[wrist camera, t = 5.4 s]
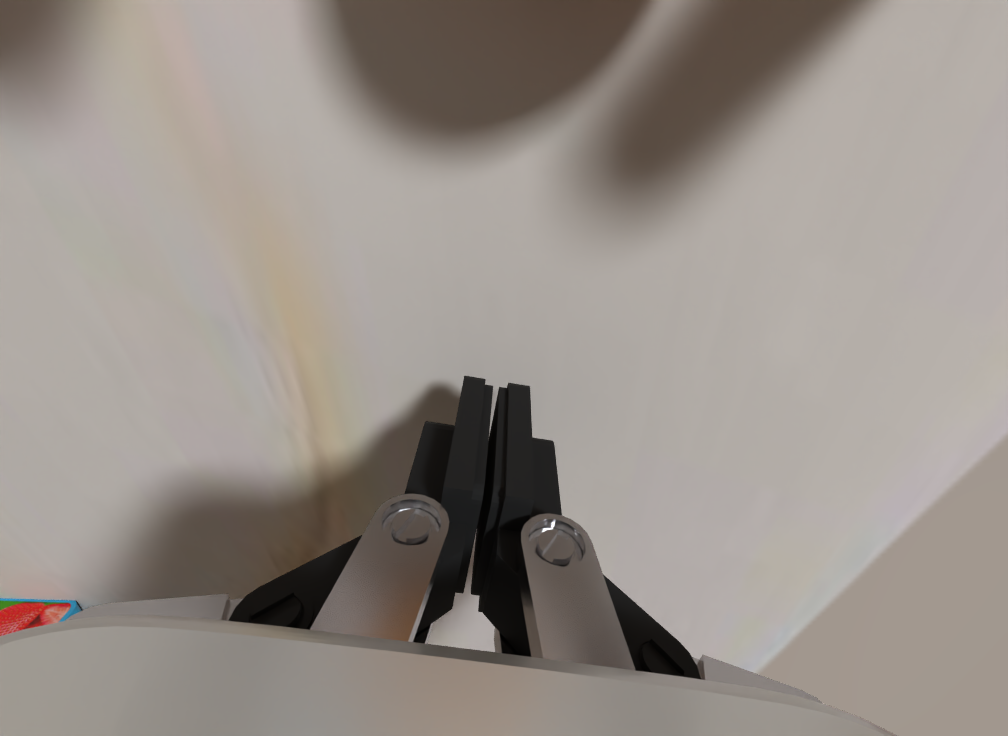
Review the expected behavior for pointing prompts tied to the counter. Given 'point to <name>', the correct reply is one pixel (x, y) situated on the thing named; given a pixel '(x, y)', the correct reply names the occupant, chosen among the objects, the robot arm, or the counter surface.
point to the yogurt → (33, 613)
